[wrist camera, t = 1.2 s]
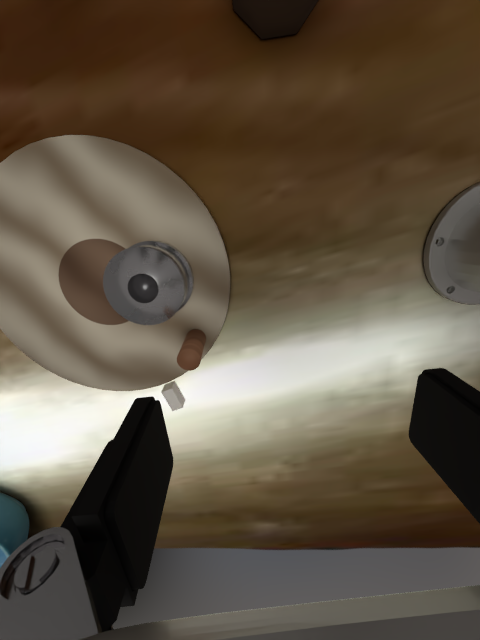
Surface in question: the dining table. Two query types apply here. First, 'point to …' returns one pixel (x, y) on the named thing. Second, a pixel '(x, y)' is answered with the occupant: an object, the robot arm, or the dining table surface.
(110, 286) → the cover
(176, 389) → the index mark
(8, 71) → the dining table surface
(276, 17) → the beer bottle
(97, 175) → the turntable
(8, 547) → the casserole dish
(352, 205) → the dining table surface
